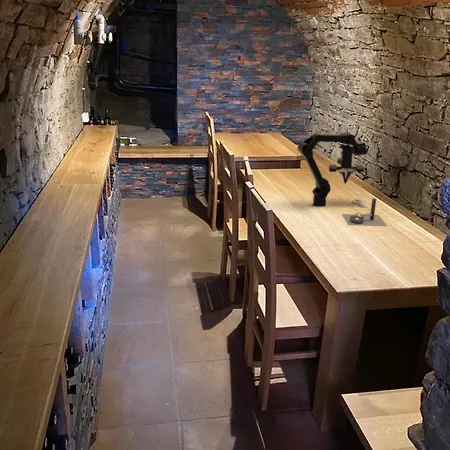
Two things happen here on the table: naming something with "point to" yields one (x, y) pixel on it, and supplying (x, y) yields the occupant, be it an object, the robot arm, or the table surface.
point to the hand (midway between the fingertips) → (345, 183)
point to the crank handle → (360, 217)
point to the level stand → (365, 221)
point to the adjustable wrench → (359, 203)
